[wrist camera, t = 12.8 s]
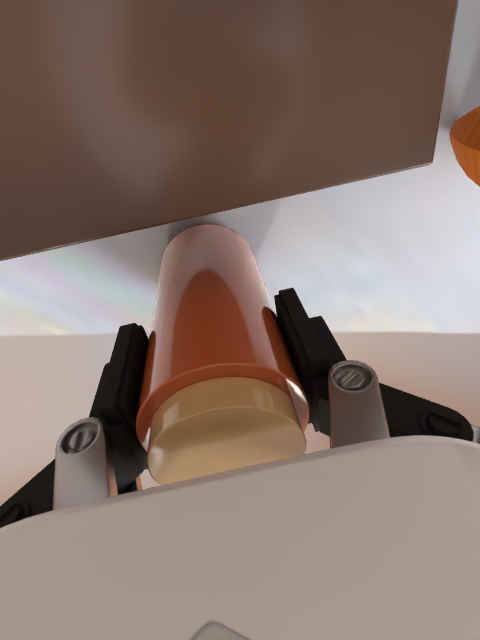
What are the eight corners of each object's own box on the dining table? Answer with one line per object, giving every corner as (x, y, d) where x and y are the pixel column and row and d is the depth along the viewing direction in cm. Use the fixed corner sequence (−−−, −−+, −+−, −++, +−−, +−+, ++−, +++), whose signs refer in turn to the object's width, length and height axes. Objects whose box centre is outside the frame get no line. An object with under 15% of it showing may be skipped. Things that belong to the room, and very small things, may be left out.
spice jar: (246, 213, 16) (317, 374, 7) (261, 298, 19) (324, 486, 10) (147, 236, 16) (94, 423, 7) (176, 317, 19) (166, 520, 10)
